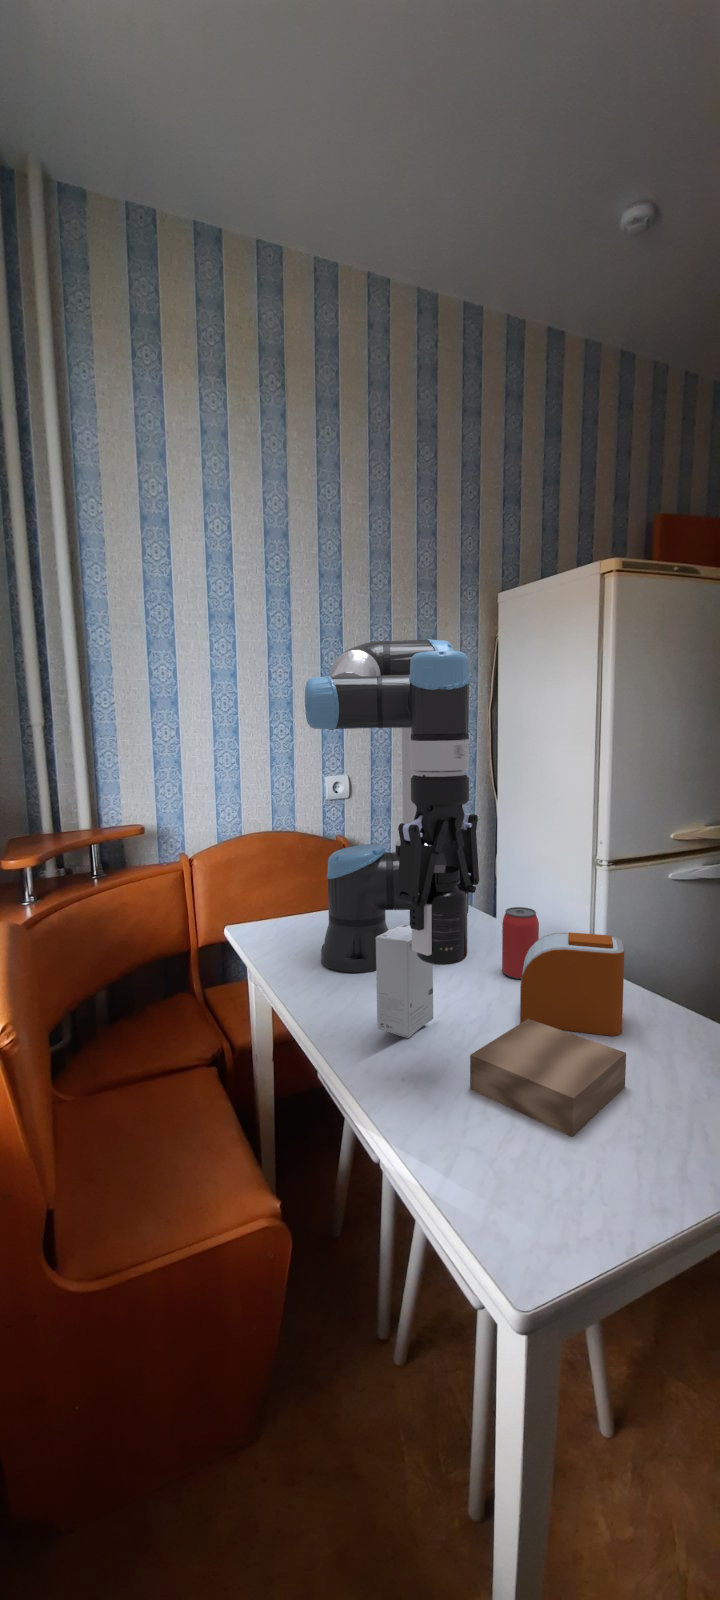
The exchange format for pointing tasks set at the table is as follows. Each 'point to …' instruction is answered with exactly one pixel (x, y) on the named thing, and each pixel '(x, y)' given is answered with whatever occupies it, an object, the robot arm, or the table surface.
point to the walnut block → (548, 1074)
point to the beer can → (517, 938)
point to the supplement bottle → (447, 917)
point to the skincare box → (402, 984)
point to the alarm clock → (574, 983)
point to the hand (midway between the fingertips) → (440, 945)
